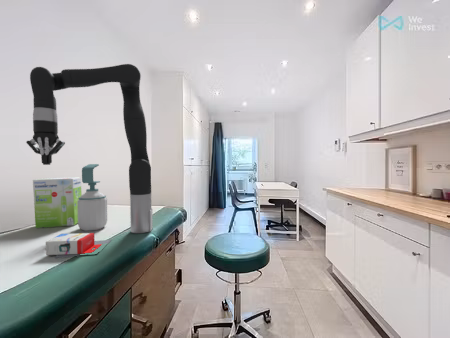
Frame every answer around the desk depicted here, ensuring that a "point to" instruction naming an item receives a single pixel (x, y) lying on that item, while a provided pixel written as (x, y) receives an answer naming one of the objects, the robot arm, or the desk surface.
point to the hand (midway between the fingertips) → (46, 164)
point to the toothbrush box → (56, 201)
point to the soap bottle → (91, 203)
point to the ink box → (71, 244)
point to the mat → (79, 254)
